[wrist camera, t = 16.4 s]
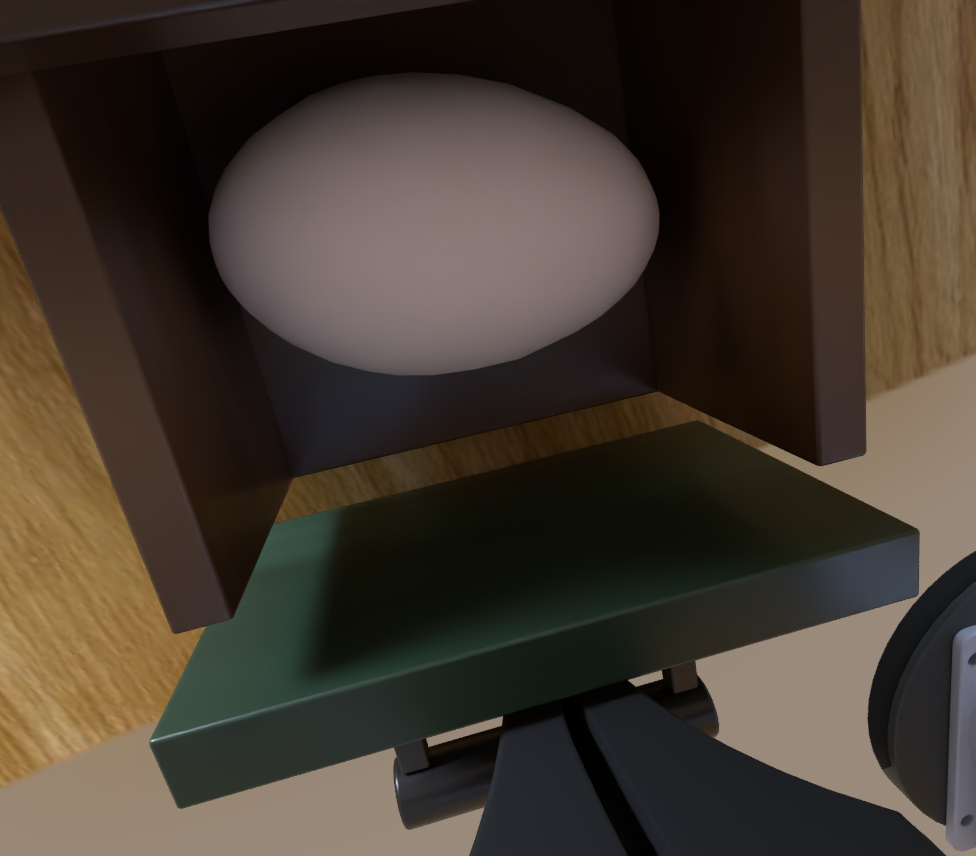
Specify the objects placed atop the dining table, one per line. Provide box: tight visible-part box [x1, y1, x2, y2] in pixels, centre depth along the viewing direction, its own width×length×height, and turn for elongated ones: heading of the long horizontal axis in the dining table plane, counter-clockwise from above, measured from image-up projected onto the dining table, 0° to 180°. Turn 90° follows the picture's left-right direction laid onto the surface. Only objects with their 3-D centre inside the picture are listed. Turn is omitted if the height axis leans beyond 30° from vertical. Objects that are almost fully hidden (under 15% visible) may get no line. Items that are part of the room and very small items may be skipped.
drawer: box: [0, 0, 920, 830], centre depth 11 cm, size 18×11×7 cm, turn 11°
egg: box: [208, 72, 660, 376], centre depth 10 cm, size 5×5×7 cm
